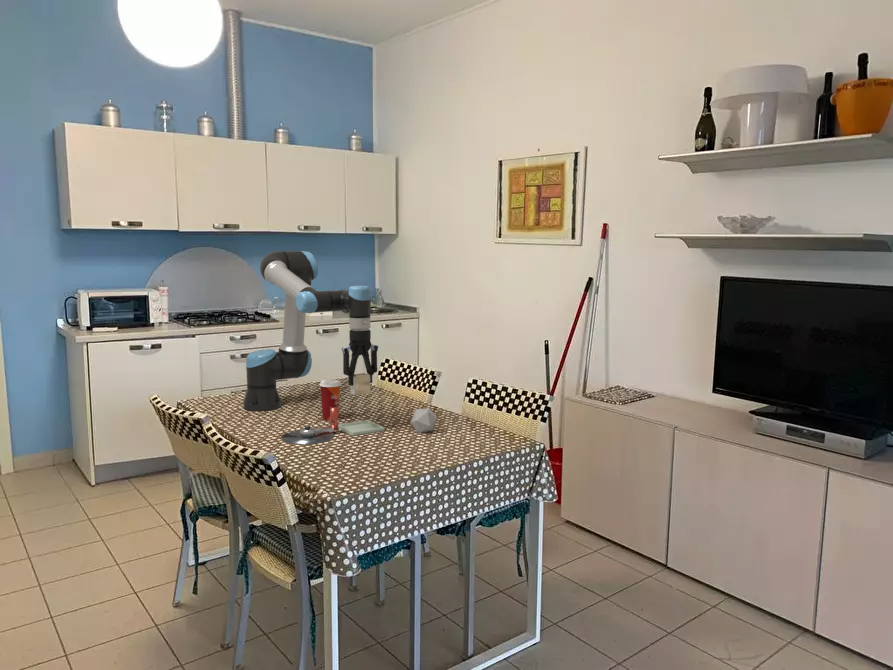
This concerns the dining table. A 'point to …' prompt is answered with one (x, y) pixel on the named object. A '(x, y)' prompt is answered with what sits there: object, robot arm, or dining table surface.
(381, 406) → the dining table surface
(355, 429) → the tray
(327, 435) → the base plate
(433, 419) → the die
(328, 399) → the coffee cup
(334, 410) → the crank
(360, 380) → the block
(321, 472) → the dining table surface
